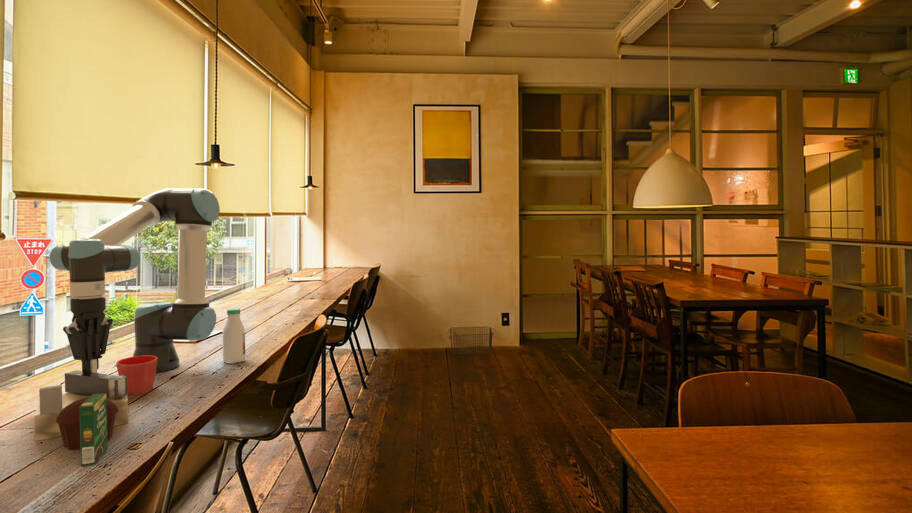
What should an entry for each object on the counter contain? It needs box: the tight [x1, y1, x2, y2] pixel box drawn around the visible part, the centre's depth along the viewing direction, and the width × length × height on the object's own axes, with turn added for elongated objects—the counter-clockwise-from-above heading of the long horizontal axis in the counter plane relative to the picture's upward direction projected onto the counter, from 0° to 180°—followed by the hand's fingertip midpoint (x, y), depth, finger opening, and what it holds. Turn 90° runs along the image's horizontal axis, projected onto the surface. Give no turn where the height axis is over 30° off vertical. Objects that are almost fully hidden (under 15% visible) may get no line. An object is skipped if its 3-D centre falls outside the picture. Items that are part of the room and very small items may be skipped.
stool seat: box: [34, 385, 129, 442], centre depth 127 cm, size 18×23×6 cm
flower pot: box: [116, 355, 157, 395], centre depth 148 cm, size 11×11×10 cm
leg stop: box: [39, 384, 63, 415], centre depth 114 cm, size 4×2×6 cm, turn 127°
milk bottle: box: [222, 308, 246, 363], centre depth 182 cm, size 8×8×20 cm
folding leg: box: [64, 369, 128, 399], centre depth 126 cm, size 18×4×5 cm, turn 74°
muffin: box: [56, 397, 119, 451], centre depth 112 cm, size 12×11×10 cm
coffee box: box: [80, 393, 109, 467], centre depth 104 cm, size 8×3×13 cm, turn 20°
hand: (90, 383), depth 130 cm, fingers closed
